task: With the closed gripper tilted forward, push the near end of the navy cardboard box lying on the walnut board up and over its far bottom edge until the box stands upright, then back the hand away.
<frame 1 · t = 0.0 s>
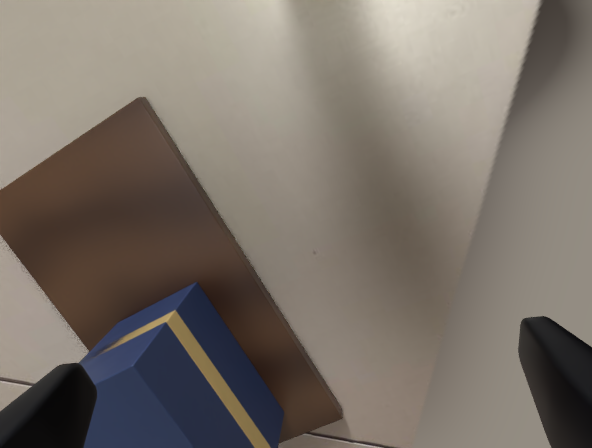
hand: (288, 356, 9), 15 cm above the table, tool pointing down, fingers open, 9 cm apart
navy box: (178, 414, 23), point 5 cm above the table, hinge at -0.1°
walnut board: (171, 309, 26), on the table
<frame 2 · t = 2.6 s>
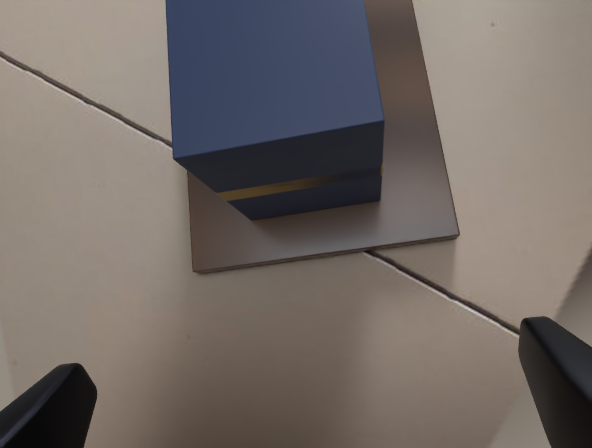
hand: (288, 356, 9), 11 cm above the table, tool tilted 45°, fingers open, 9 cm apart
navy box: (285, 63, 17), point 5 cm above the table, hinge at -0.1°
walnut board: (295, 48, 22), on the table
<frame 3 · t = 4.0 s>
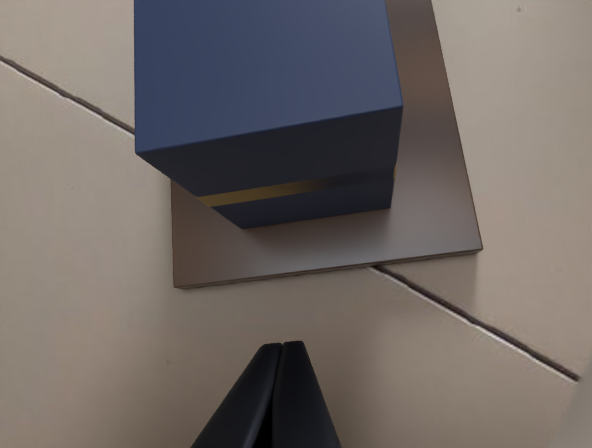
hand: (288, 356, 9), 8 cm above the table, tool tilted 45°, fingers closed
navy box: (281, 46, 14), point 5 cm above the table, hinge at -0.1°
walnut board: (295, 36, 20), on the table
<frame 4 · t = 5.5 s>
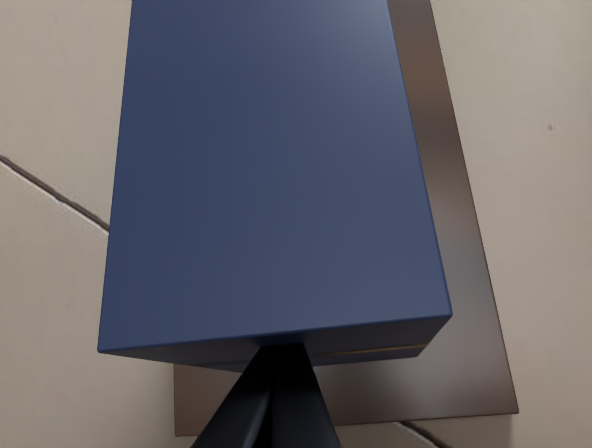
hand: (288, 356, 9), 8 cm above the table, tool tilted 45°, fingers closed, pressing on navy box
navy box: (291, 177, 13), point 5 cm above the table, hinge at 6.7°, touching gripper
walnut board: (308, 146, 19), on the table
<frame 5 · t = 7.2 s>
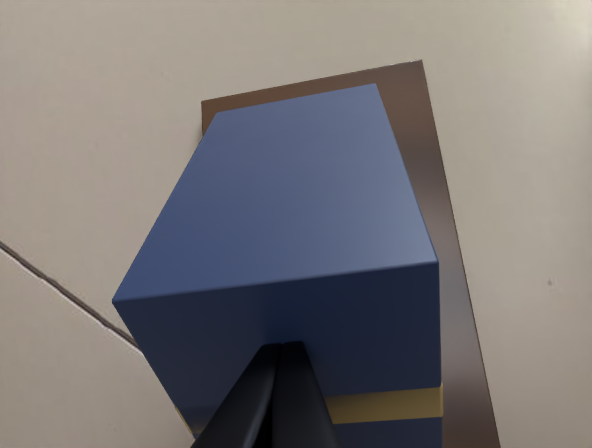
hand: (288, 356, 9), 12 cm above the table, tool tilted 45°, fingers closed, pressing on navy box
navy box: (310, 268, 14), point 7 cm above the table, hinge at 40.1°, touching gripper
walnut board: (332, 287, 21), on the table
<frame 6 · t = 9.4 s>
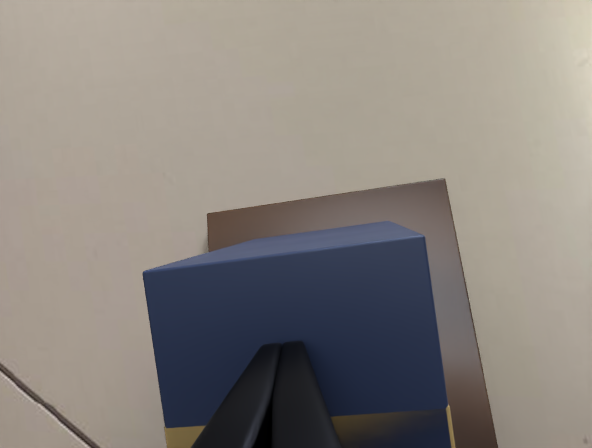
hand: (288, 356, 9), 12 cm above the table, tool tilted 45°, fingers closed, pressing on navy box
navy box: (323, 360, 14), point 7 cm above the table, hinge at 74.2°, touching gripper
walnut board: (350, 432, 19), on the table
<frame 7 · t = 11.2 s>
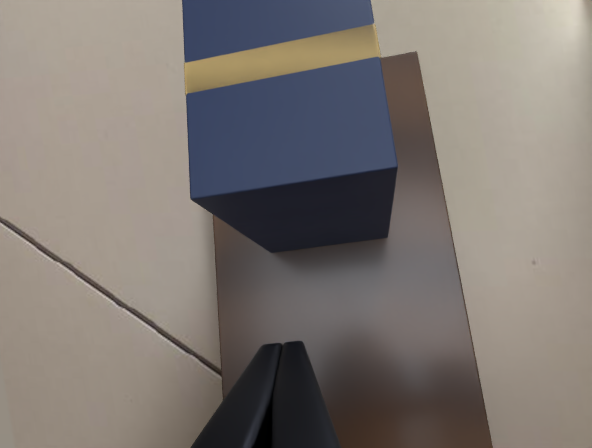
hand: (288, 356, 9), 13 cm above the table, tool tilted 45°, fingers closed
navy box: (304, 130, 18), point 6 cm above the table, hinge at 90.0°, touching walnut board
walnut board: (332, 268, 22), on the table
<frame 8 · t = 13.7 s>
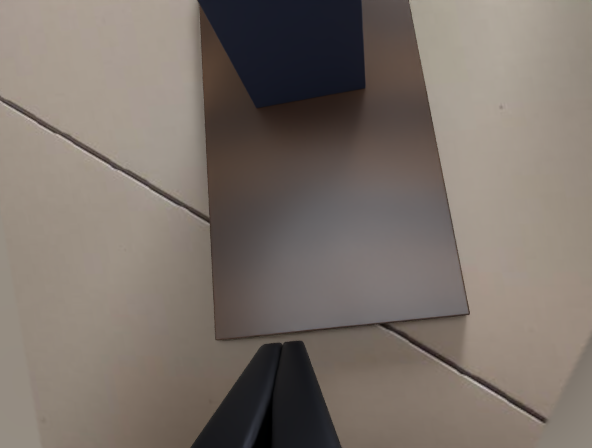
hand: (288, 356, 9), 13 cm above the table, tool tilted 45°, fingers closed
walnut board: (314, 123, 24), on the table
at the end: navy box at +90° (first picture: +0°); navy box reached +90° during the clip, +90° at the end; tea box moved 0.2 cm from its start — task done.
